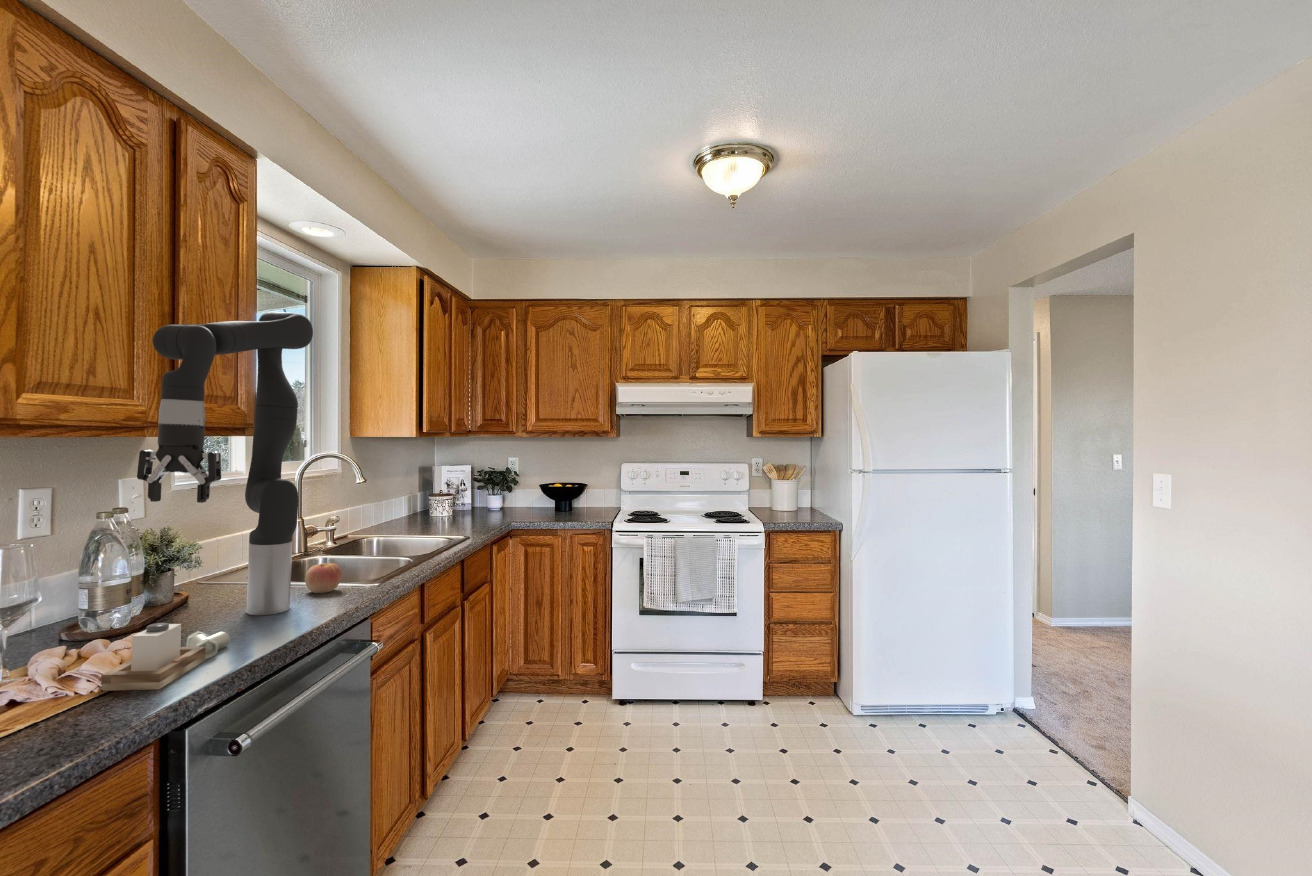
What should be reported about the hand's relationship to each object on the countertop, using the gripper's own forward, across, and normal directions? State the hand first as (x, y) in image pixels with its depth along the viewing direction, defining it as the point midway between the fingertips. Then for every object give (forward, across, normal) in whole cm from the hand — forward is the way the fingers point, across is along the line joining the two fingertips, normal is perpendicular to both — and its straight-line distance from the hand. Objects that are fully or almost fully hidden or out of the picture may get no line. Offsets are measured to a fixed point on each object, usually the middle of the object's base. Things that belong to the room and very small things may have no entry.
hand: (178, 501), depth 126 cm
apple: (+30, +12, +47) cm, 57 cm away
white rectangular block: (+29, +5, -14) cm, 32 cm away
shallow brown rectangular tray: (+30, +5, -14) cm, 34 cm away
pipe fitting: (+31, +8, -2) cm, 32 cm away
